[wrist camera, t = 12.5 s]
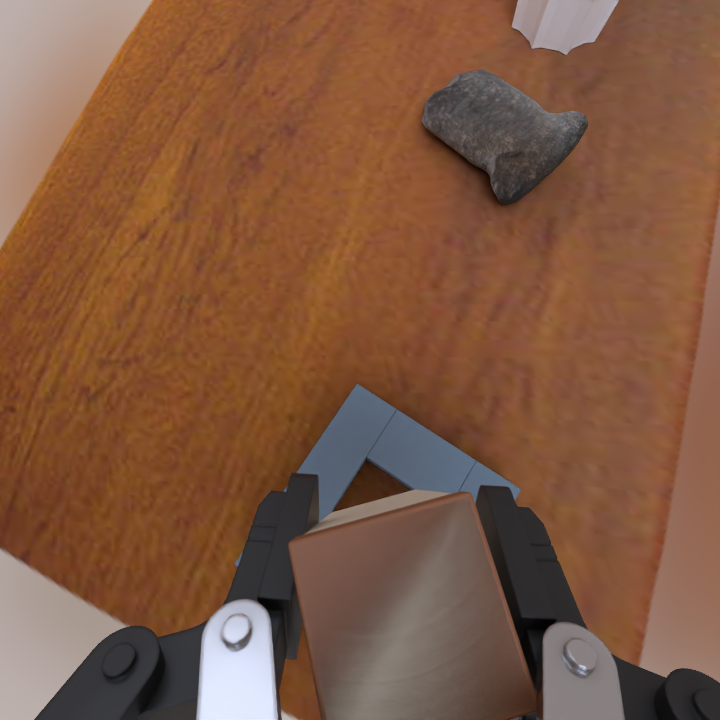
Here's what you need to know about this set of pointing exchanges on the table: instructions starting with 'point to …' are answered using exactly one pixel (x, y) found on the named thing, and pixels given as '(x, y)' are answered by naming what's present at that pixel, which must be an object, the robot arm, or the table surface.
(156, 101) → the table surface
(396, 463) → the blue square frame
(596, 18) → the cup
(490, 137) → the stone
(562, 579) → the robot arm
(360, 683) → the brown square block
